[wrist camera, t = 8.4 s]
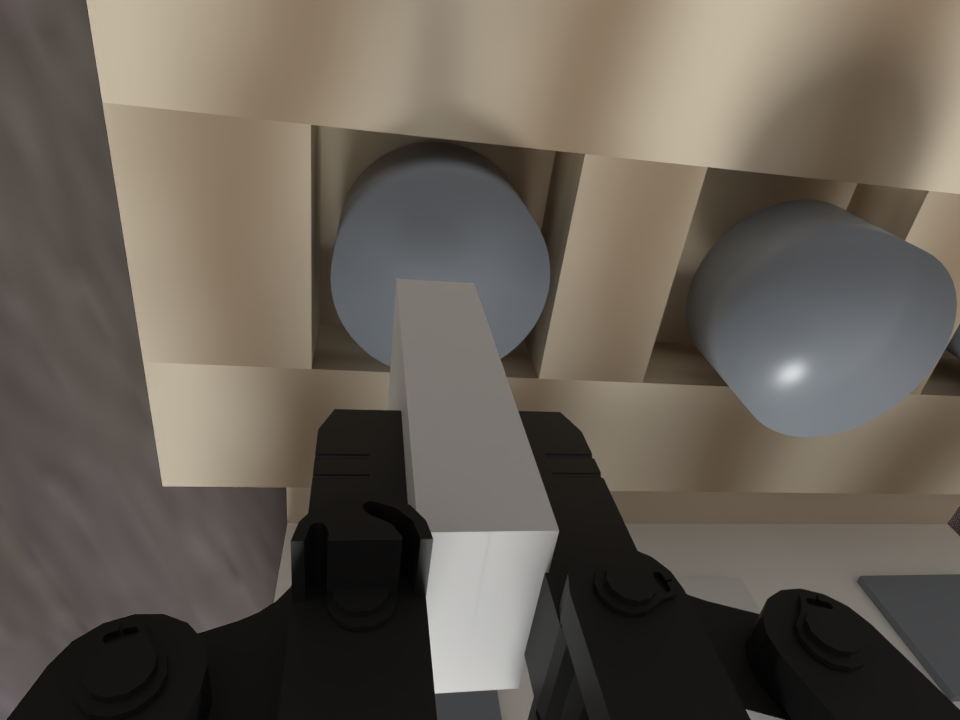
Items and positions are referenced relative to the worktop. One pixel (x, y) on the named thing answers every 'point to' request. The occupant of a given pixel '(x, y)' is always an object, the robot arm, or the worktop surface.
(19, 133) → the worktop surface
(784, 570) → the pattern card
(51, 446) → the worktop surface
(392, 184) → the button
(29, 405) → the worktop surface
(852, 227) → the button centre
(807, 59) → the button board
